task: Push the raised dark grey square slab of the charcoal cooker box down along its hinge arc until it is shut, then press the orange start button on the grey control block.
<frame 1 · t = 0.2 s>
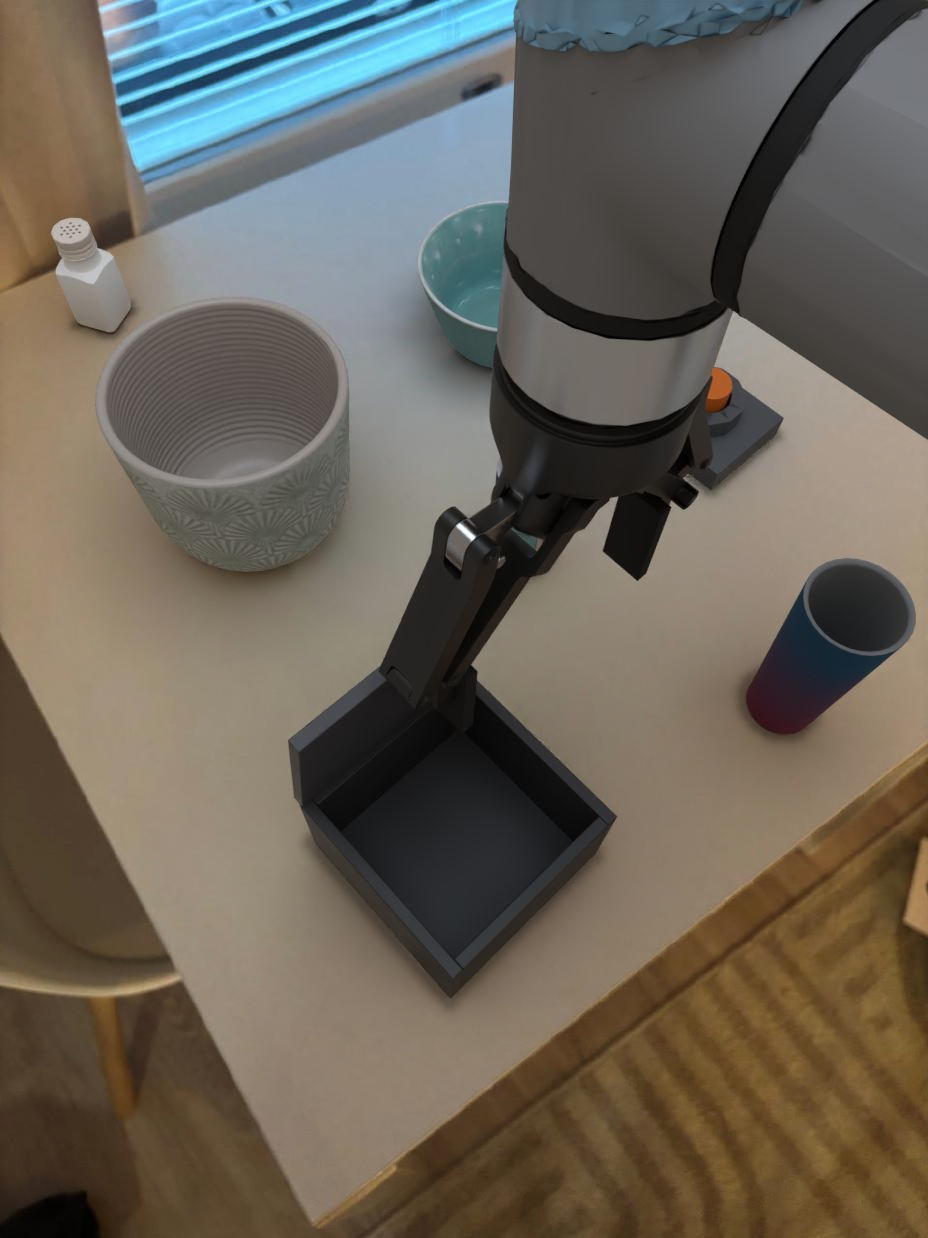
hand: (540, 634, 52), 19 cm above the table, tool pointing down, fingers open, 13 cm apart
beer can: (518, 554, 76), on the table
bowl: (503, 335, 88), on the table
start button: (708, 389, 79), point 4 cm above the table, slide at 0.1 cm
dark grey square slab: (392, 697, 52), point 16 cm above the table, hinge at 80.0°
cooker: (455, 848, 64), on the table
control block: (695, 424, 83), on the table
pepper shaker: (106, 317, 87), on the table
planter: (259, 515, 77), on the table
cup: (778, 704, 70), on the table
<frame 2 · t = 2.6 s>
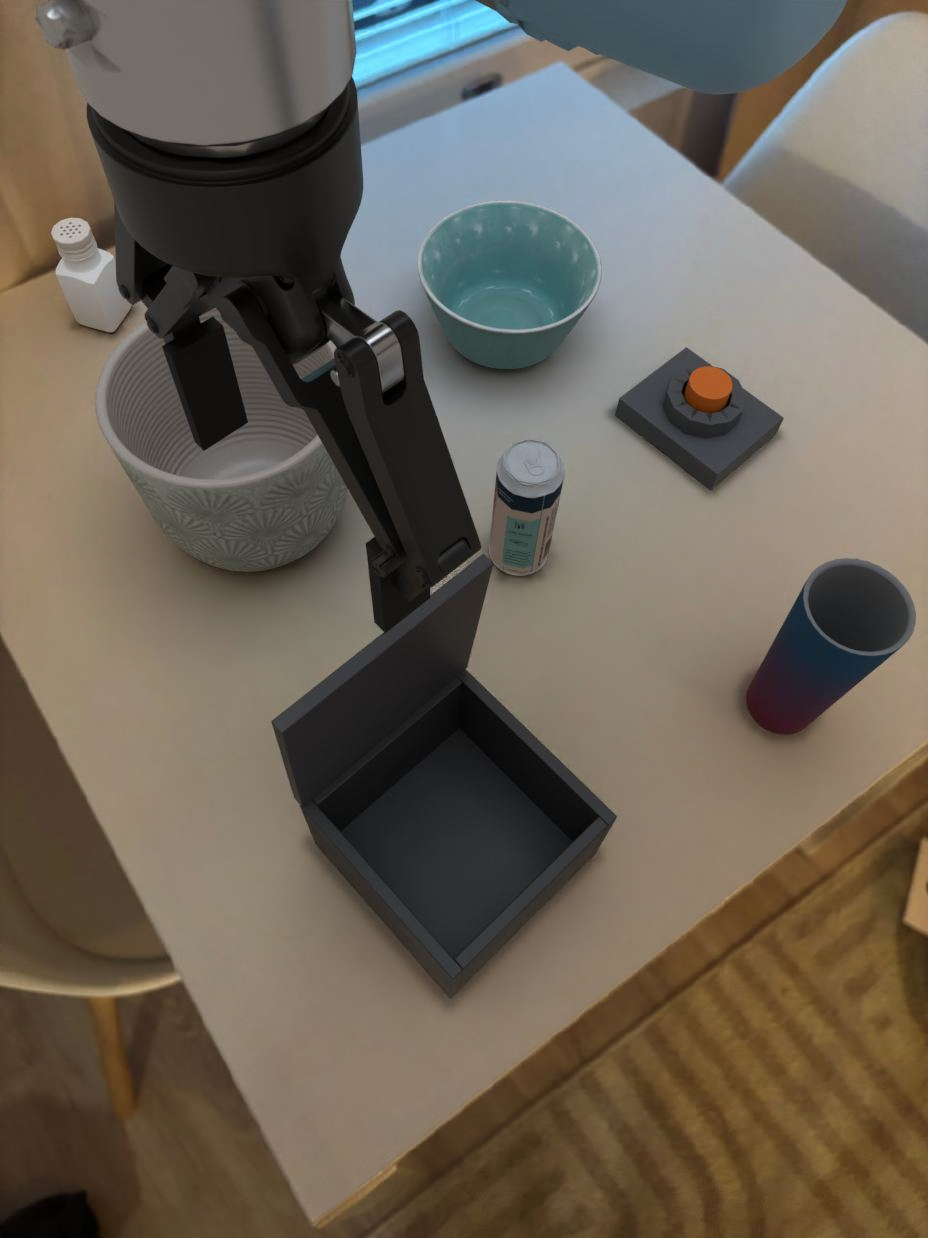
hand: (307, 517, 45), 27 cm above the table, tool pointing down, fingers open, 13 cm apart
dark grey square slab: (385, 689, 52), point 16 cm above the table, hinge at 84.8°
everything else where it was.
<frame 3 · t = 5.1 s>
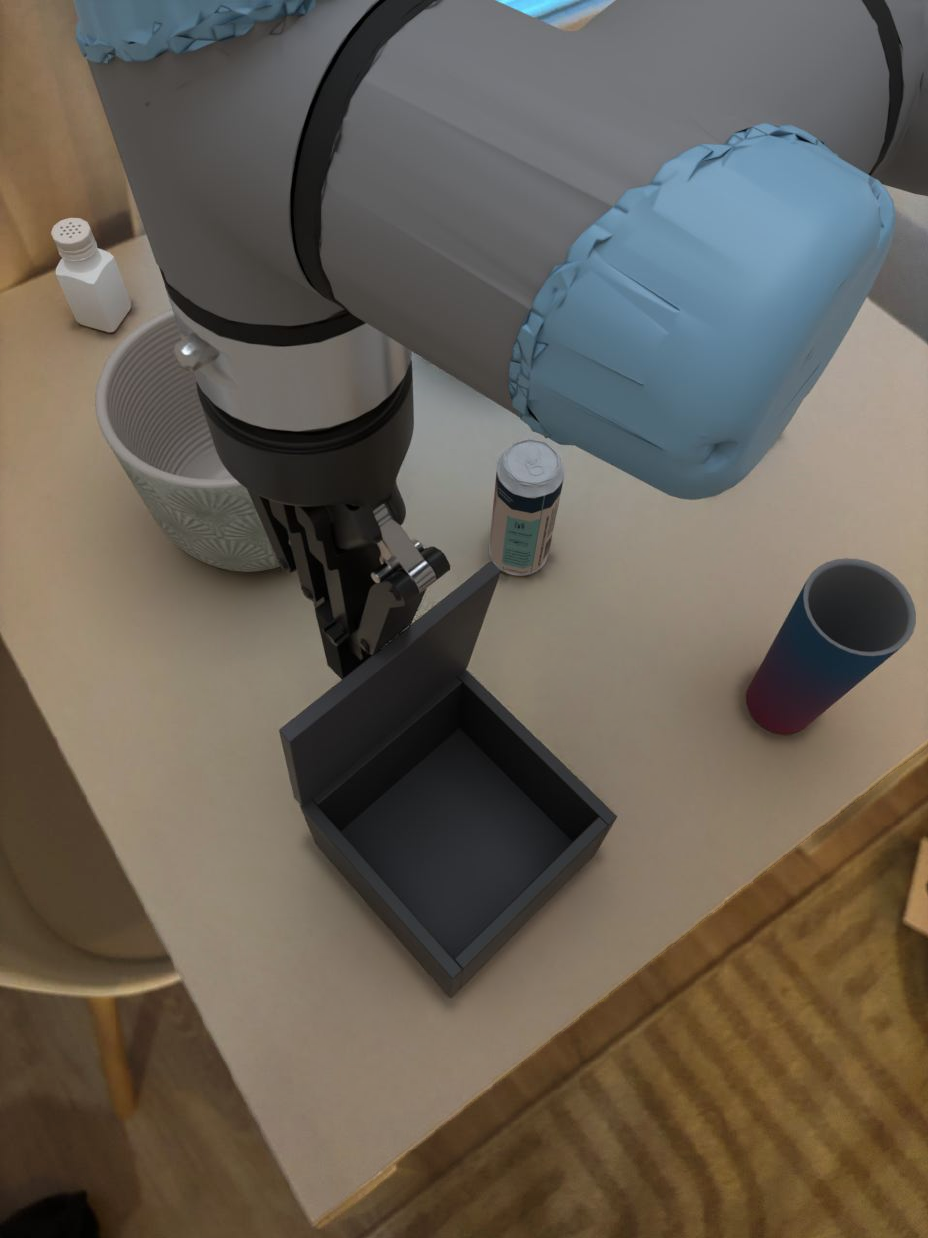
hand: (354, 658, 53), 16 cm above the table, tool pointing down, fingers closed
dark grey square slab: (389, 693, 52), point 16 cm above the table, hinge at 82.5°, touching gripper
everything else where it was.
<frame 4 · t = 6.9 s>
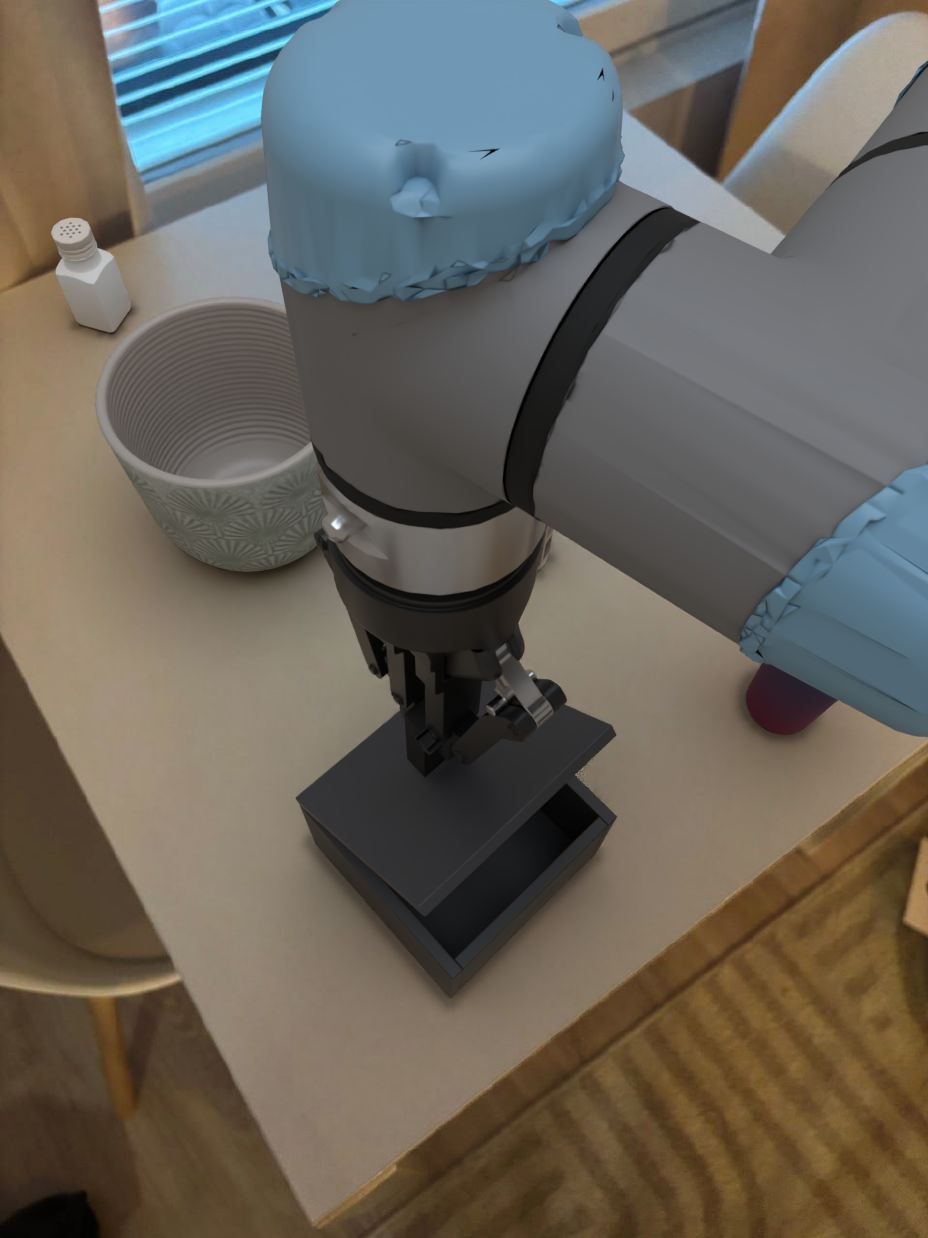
hand: (434, 752, 53), 14 cm above the table, tool pointing down, fingers closed
dark grey square slab: (445, 768, 53), point 14 cm above the table, hinge at 39.1°, touching gripper
everything else where it was.
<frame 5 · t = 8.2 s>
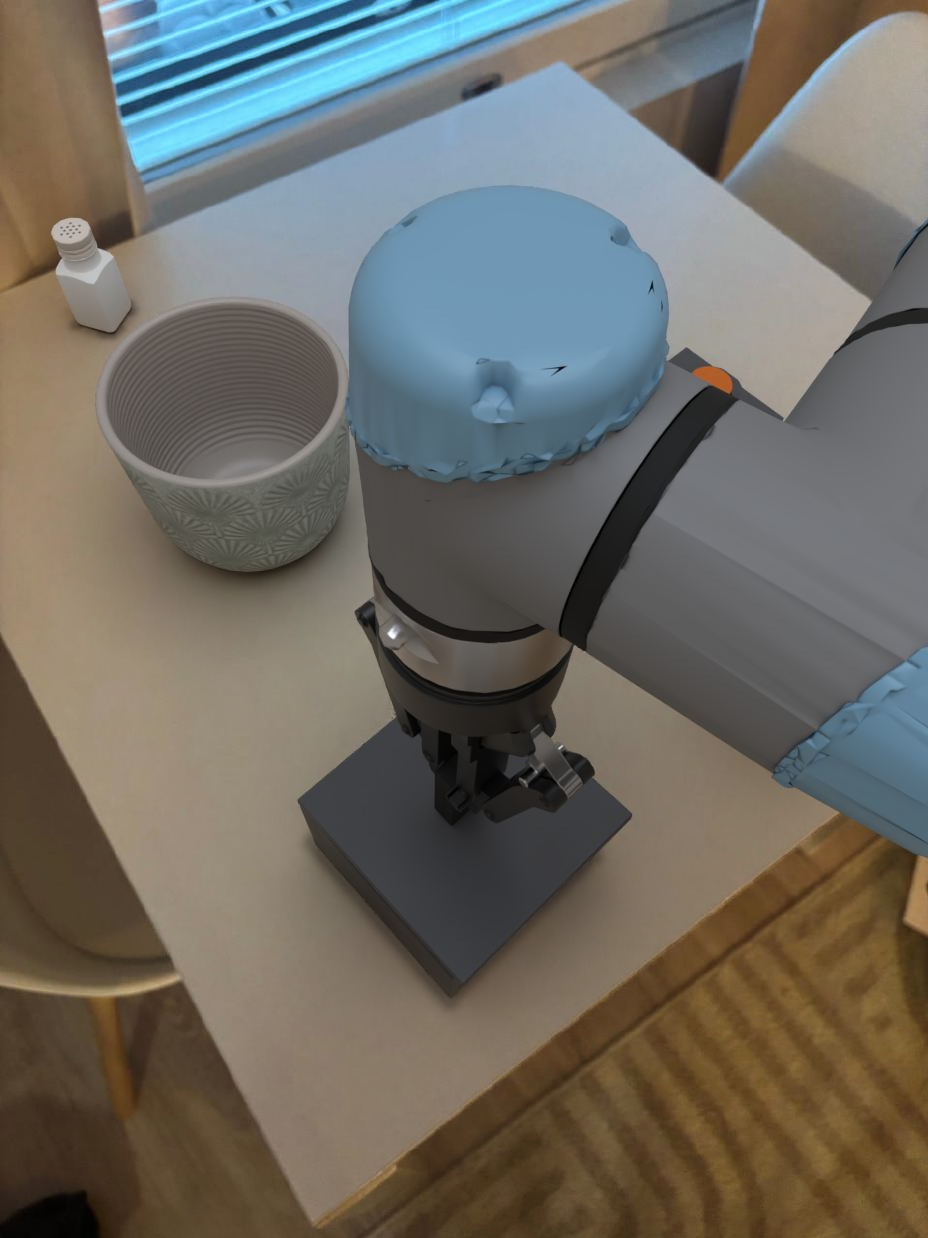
hand: (459, 801, 55), 11 cm above the table, tool pointing down, fingers closed
dark grey square slab: (463, 809, 56), point 10 cm above the table, hinge at 5.5°, touching gripper
everything else where it was.
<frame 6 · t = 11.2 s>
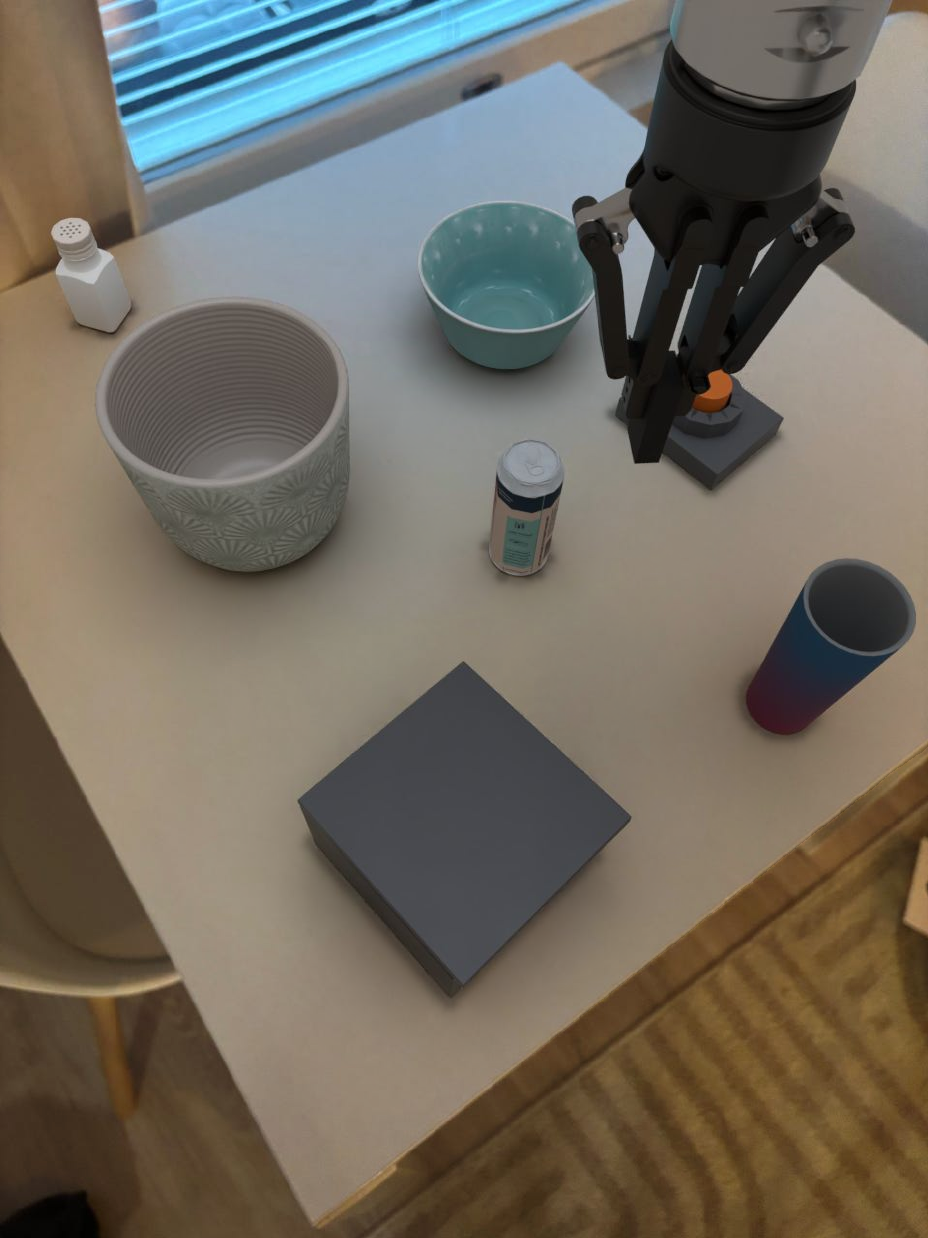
hand: (642, 445, 57), 19 cm above the table, tool pointing down, fingers closed
dark grey square slab: (463, 810, 56), point 10 cm above the table, hinge at 3.9°
everything else where it was.
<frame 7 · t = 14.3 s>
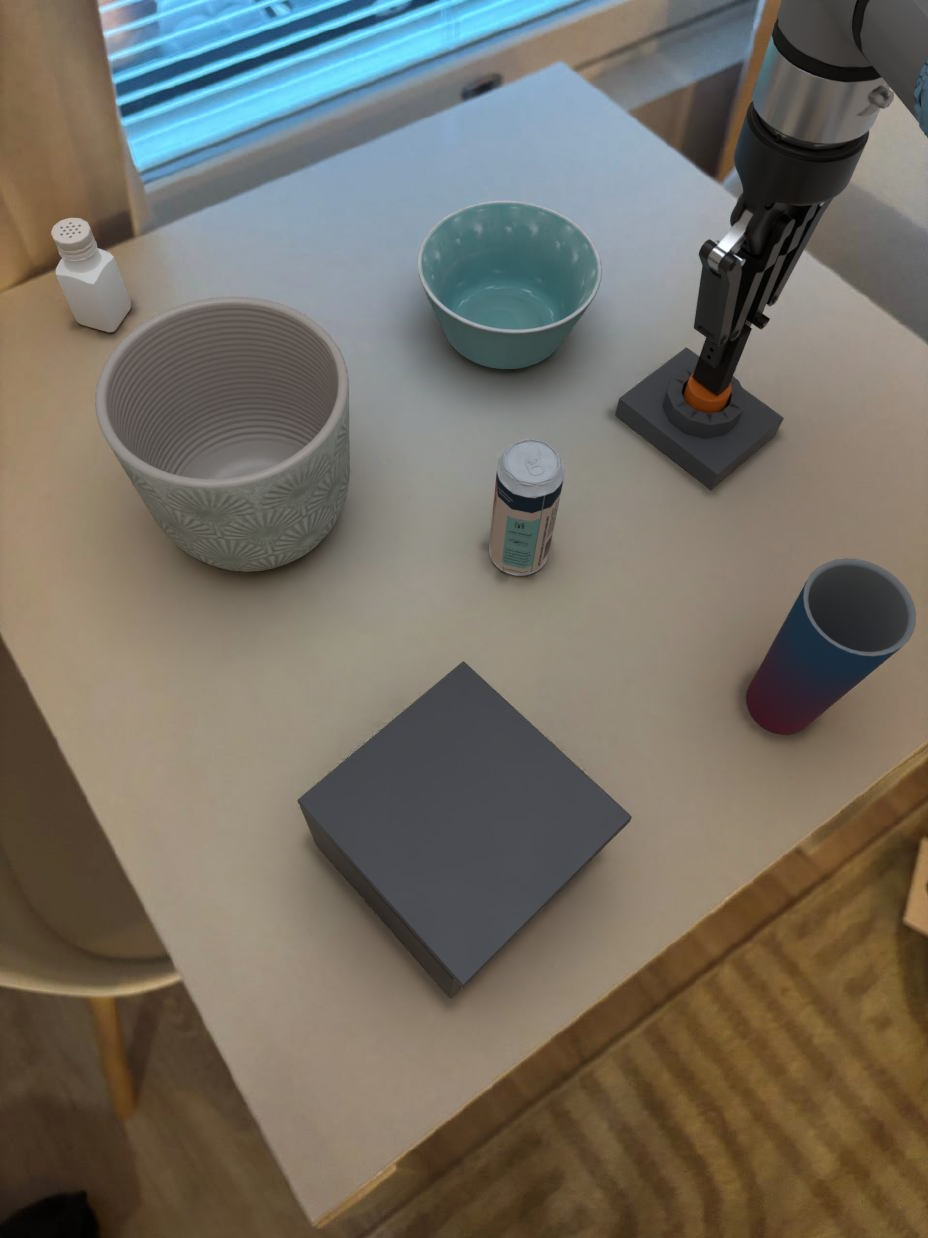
hand: (710, 381, 78), 5 cm above the table, tool pointing down, fingers closed
start button: (707, 392, 79), point 4 cm above the table, slide at -0.2 cm, touching gripper
everything else where it was.
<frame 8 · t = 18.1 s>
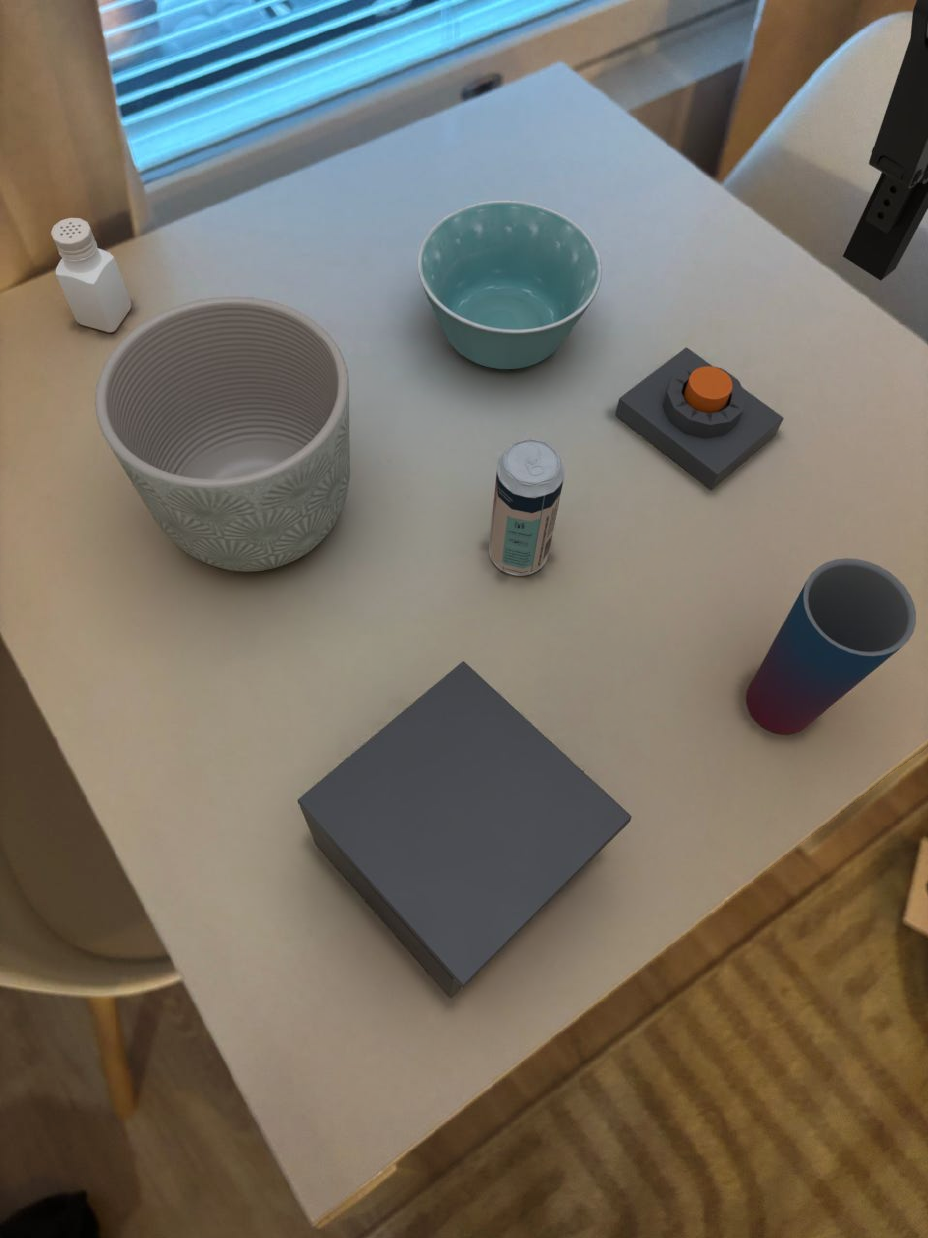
hand: (869, 262, 55), 26 cm above the table, tool pointing down, fingers closed
start button: (708, 389, 79), point 4 cm above the table, slide at 0.1 cm
everything else where it was.
at the end: dark grey square slab at +4° (first picture: +80°); start button pushed in 1.0 cm at the most during the clip, back to where it started at the end; start button slide at 0.1 cm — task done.
